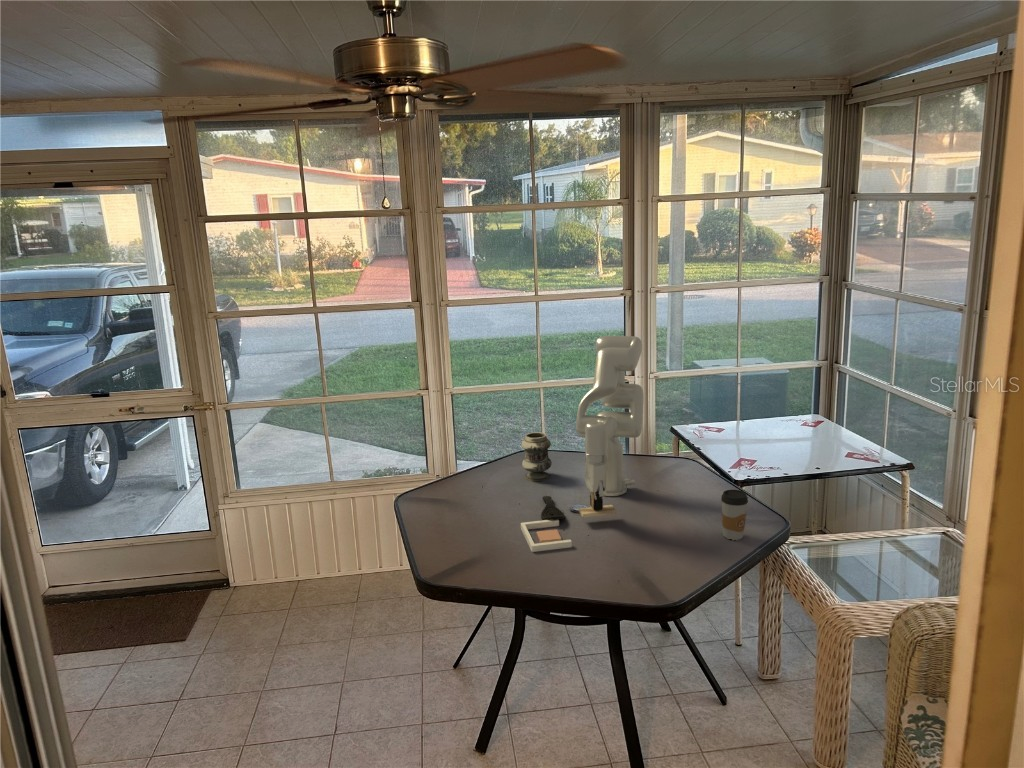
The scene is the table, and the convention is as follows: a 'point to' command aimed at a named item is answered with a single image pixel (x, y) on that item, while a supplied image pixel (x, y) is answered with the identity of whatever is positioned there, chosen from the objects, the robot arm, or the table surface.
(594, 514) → the tan l-shaped bookend
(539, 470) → the carved stone vase
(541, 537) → the tile
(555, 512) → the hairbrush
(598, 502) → the robot arm
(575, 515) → the table surface
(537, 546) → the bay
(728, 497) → the coffee cup
